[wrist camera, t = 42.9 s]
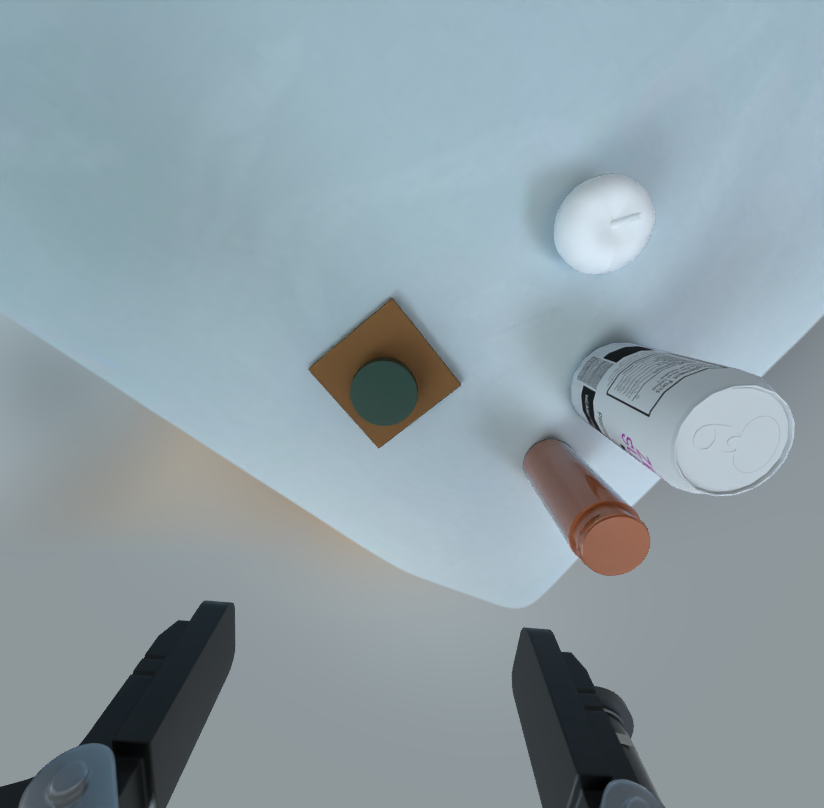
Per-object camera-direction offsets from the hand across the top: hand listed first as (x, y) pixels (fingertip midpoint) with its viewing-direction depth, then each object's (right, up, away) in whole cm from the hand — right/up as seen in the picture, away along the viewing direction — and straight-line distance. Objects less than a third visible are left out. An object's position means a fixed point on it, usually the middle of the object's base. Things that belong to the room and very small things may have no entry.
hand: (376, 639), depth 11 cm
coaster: (-1, +9, +27) cm, 28 cm away
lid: (-1, +7, +25) cm, 26 cm away
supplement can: (+20, +8, +27) cm, 35 cm away
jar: (+15, +1, +29) cm, 33 cm away
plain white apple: (+16, +21, +24) cm, 35 cm away
